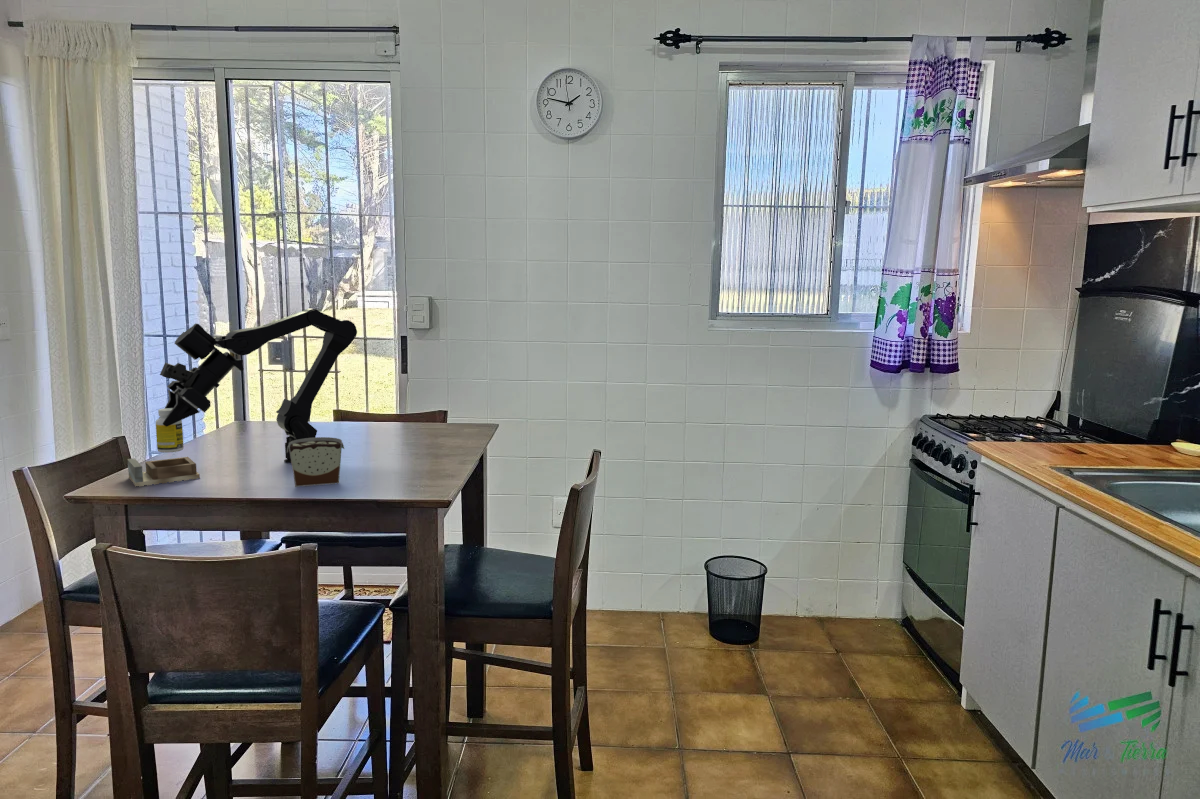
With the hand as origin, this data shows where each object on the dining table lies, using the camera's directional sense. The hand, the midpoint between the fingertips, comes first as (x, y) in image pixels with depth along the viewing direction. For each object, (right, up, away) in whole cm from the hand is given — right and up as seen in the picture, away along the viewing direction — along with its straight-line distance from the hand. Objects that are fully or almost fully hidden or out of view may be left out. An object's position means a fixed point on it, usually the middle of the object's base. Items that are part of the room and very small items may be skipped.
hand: (162, 423), depth 181 cm
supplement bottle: (+1, -7, +2) cm, 7 cm away
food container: (+36, -14, 0) cm, 38 cm away
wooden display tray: (0, -13, +2) cm, 13 cm away
